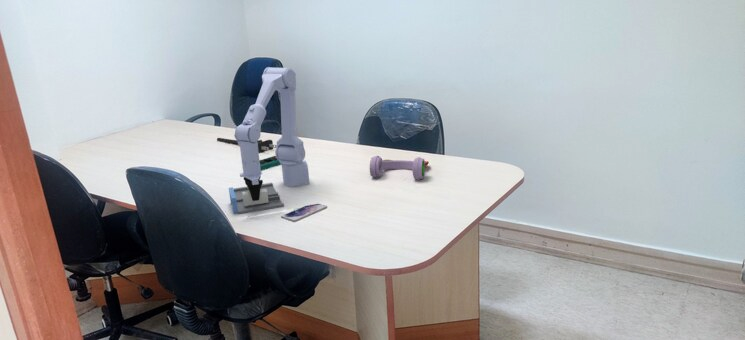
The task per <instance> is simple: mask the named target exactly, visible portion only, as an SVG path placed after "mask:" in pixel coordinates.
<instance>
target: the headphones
mask: <svg viewBox="0 0 745 340" xmlns="http://www.w3.org/2000/svg"><path fill="white" fill-rule="evenodd" d="M429 163H430V162H429V161H427V160H425V159H424V158H421V157H419V156H418V157H416V158H415V159H414V160H402V159H401V160H398V159H396V160H395V159H383V158H382V157H381V156H379V155H375V156H372V157H371V158H370V161H369V174H370V177H373V178H374V179H378V178H380V177H382V174H383V171H384V170H387V171H388V170H409V171H412V176H413V178H414V179H415V180H416V181H420V180H423V179H424V178H425V175H426V167H427V166H428V165H429Z"/></svg>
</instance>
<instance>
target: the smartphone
mask: <svg viewBox="0 0 745 340" xmlns="http://www.w3.org/2000/svg"><path fill="white" fill-rule="evenodd" d="M326 209H328V206H327V205H324V204H321V203H316V204H315V203H314V204H309V205H304V206H302V207H299V208H297V209H294V210H293V211H289V212H287V213H285V214H283V215H281V216H280V218H281V219H283V220H286V221H287V220H288V221H289V222H292V223H296V222H300V221H301V220H303V219H305V218H308V217H309V216H312V215H314V214H316V213H319V212H321V211H323V210H326Z"/></svg>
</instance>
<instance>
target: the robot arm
mask: <svg viewBox="0 0 745 340" xmlns="http://www.w3.org/2000/svg"><path fill="white" fill-rule="evenodd" d="M296 75H297V74H296V72H295V71H294V69H292V67H271V66H268V67H266V68H265V69H264V70H263V73H262V75H261V79H262V80H261V81H262V84H261V88H260V90H259V93H258V95H257V98H256V100H255V101H256V102H255V104H251V105H250V106H249V108H248V110H247V113H246V114H245V116H244V119H243V121H242V123H241V124H240V125H238V126H237V127H236V128H235V130H234V140H237V142H238V144H237V146H238V147H239V149H240V150H239V151H240V158H241V165H242V173H241V172H240V173H239V177H240V178H243V180H244V184H245V185H246V187H248V189H249V191H250V194H251V197H252V200H253V201H257V200H259V198H260V189H261V185H262V184H264V180H263V179H261V178H262V177H261V176H262V175H263V174H262V171H261V169H260V160H261V159H260V153H259V152H258V143H257V141H258V140H260V138H261V133H262V131H261V130H262V127H261V126H262V124H263V122H264V120H265V117H266V116H267V110H266V108H267V105H268V104H269V102H270V100H271V98H272V96H273V95H274V94H275V92H276V91H277V92H278V93H279V95H280V117H281V118H280V120H281V121H280V122H281V123H280V124H281V125H280V127H281V137H280V138H279V139H278V140H277V141H276V145H277V147H276V148H275V152H274V153H275V155H274V156H276V158H277V159H278V160H279V161H280V163H281V173H282V174H281V175H282V182H283V186H285V187H287V188H288V187H290V188H291V187H299V186H302V185H308V184H310V175H309V167H308V162H307V161H306V160H305V158H306V150H305V146H304V140H302V139H301V138H299V137H298V136H297V112H296V111H297V110H296V109H297V105H296V90H297V78H296Z"/></svg>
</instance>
